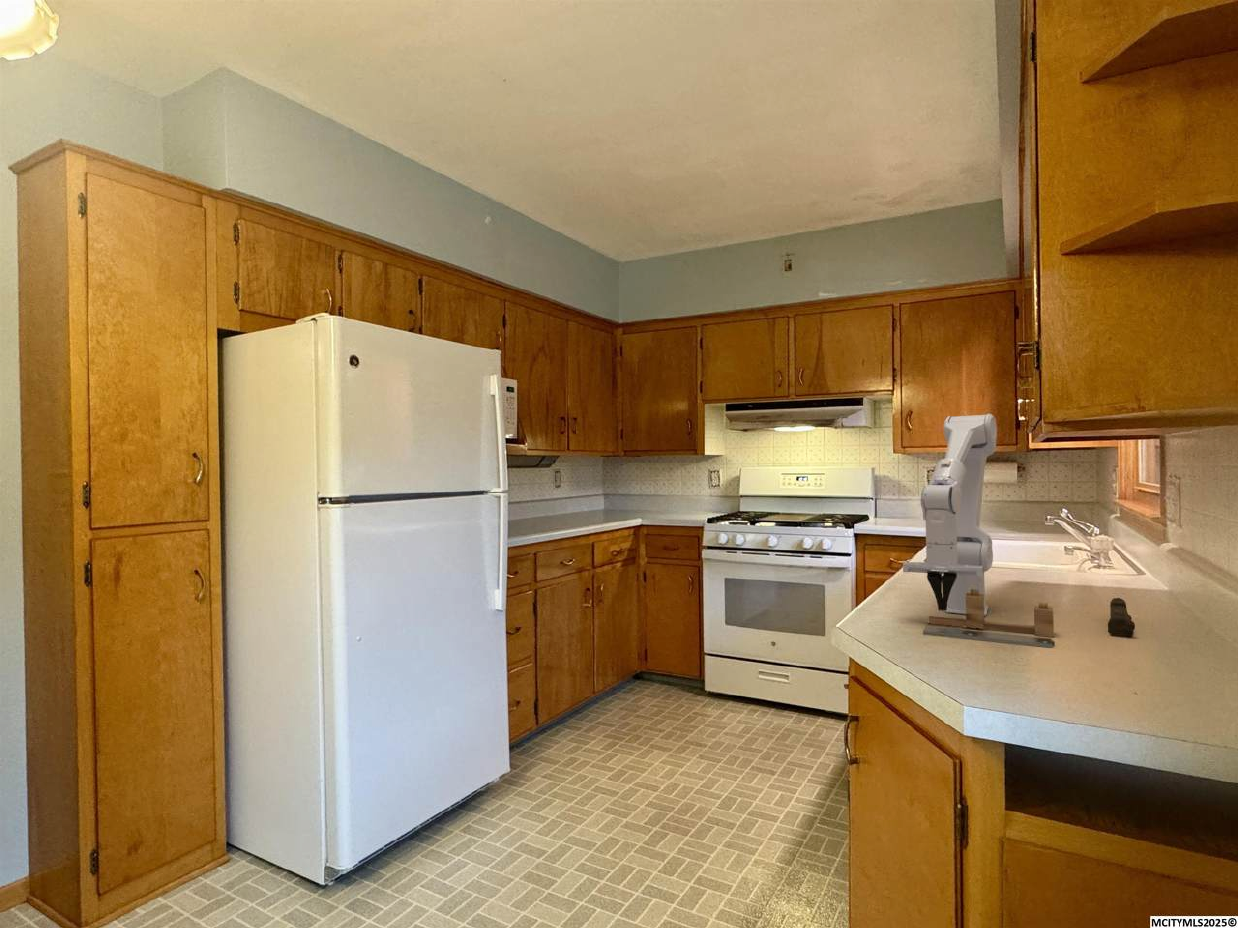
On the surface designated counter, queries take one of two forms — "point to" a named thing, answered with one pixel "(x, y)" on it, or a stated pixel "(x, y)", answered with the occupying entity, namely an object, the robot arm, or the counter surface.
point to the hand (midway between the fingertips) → (942, 609)
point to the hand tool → (1120, 620)
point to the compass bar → (1040, 628)
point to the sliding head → (975, 609)
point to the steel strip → (990, 636)
